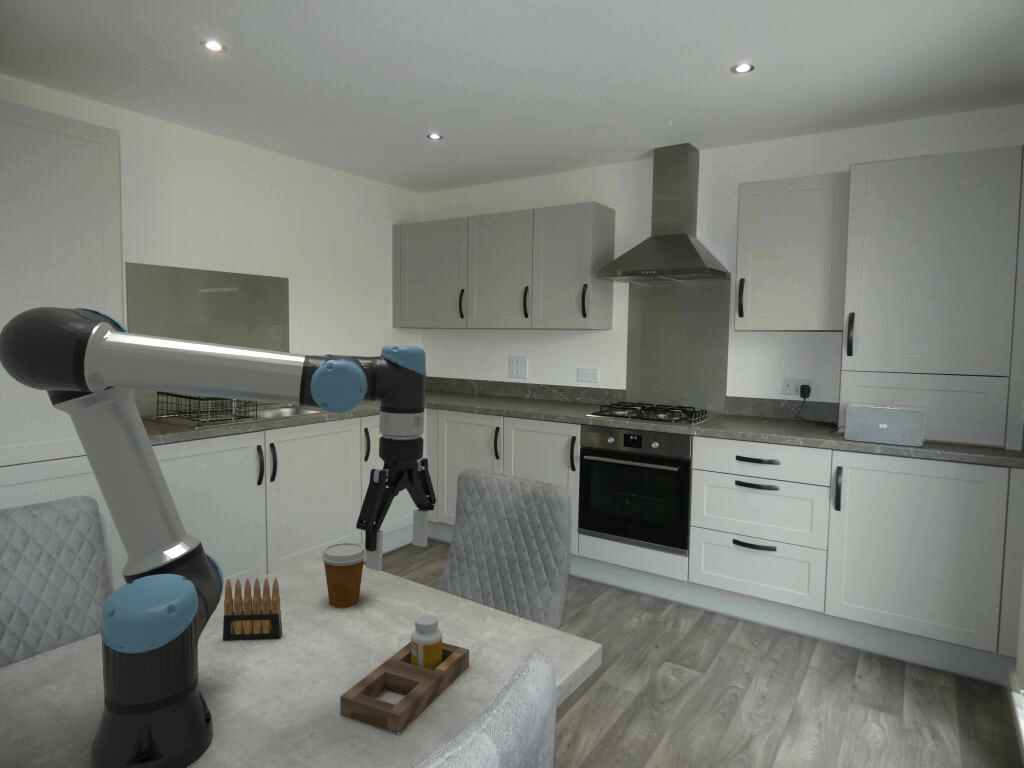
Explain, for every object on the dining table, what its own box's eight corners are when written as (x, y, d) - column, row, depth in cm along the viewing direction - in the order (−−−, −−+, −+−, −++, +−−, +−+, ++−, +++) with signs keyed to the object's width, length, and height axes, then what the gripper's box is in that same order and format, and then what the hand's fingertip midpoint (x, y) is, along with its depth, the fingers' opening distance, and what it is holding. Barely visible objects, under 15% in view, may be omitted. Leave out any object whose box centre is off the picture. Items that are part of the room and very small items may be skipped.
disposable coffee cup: (375, 599, 141) (375, 547, 140) (342, 615, 133) (342, 560, 132) (345, 589, 146) (345, 539, 145) (312, 604, 138) (312, 550, 137)
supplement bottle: (446, 666, 113) (446, 614, 113) (434, 682, 108) (434, 628, 107) (419, 662, 115) (419, 610, 114) (406, 677, 110) (405, 624, 109)
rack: (398, 734, 94) (398, 714, 94) (340, 714, 99) (340, 695, 99) (468, 665, 114) (469, 648, 114) (417, 651, 119) (417, 635, 118)
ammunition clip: (282, 634, 124) (281, 575, 123) (280, 639, 122) (279, 579, 121) (225, 636, 123) (224, 577, 122) (222, 641, 121) (221, 580, 120)
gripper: (374, 448, 95) (370, 585, 97) (457, 429, 118) (452, 540, 119) (335, 443, 98) (332, 575, 100) (423, 425, 121) (419, 533, 122)
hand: (397, 556), depth 109 cm, fingers open, 13 cm apart
